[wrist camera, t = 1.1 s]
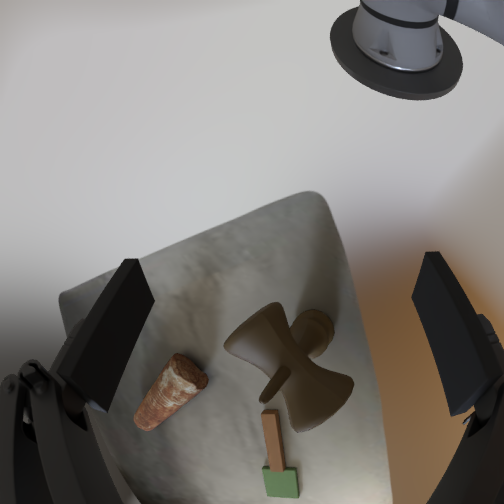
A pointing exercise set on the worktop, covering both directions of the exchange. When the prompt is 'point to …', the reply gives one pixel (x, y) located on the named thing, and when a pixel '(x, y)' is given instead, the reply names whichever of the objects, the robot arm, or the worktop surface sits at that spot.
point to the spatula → (277, 460)
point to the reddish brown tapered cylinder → (170, 392)
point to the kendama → (293, 362)
